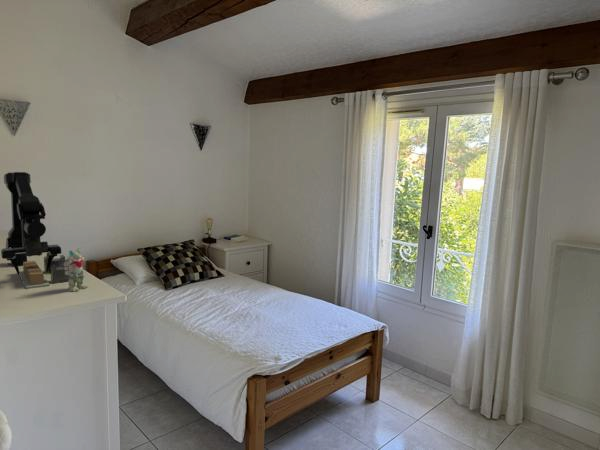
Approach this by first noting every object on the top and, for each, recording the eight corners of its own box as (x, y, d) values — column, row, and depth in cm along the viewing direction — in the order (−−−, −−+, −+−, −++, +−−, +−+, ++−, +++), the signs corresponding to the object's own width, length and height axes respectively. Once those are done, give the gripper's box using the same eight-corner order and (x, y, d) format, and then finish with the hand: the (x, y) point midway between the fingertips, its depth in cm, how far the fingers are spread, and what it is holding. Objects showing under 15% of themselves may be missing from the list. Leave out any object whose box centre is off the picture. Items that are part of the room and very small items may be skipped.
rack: (44, 271, 166) (43, 256, 165) (63, 269, 170) (63, 254, 169) (52, 283, 151) (52, 267, 150) (74, 280, 155) (73, 265, 154)
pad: (18, 272, 162) (18, 271, 162) (39, 270, 167) (39, 269, 167) (26, 288, 143) (26, 287, 143) (49, 285, 148) (49, 284, 148)
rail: (23, 271, 162) (22, 262, 161) (35, 270, 164) (34, 260, 164) (30, 285, 145) (30, 274, 145) (43, 283, 148) (43, 273, 147)
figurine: (63, 293, 141) (61, 251, 139) (62, 287, 147) (60, 246, 145) (89, 290, 145) (87, 249, 143) (86, 284, 152) (85, 245, 149)
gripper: (2, 238, 140) (4, 282, 143) (63, 234, 152) (64, 274, 155) (-1, 233, 149) (2, 274, 151) (57, 230, 161) (59, 268, 163)
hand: (33, 273), depth 155 cm, fingers open, 9 cm apart
